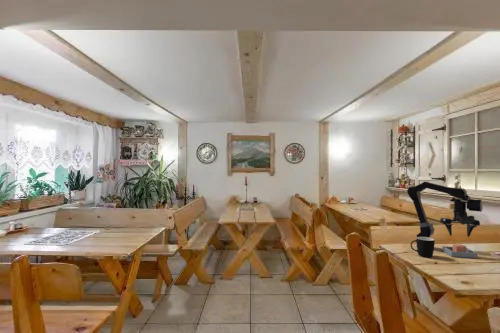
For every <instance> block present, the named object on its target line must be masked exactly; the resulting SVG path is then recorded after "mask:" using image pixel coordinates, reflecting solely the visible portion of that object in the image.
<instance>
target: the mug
mask: <svg viewBox="0 0 500 333" xmlns="http://www.w3.org/2000/svg"><path fill="white" fill-rule="evenodd" d="M414 242H416V243H415V244H416V245H417V246H416V249H415V248H414V247H413V243H414ZM435 244H436V240H435V239H434V238H432V237H430V238H428V237H417V236H416V239H415V240H414V239H413V241H411V242H410V248H411V250H412V251H414V252H415V253H416V252H417V254H418V256H419V257H421V258H426V259H427V258H429V259H430V258H432V257H433V256H434V255H433V254H434V252H435Z"/></svg>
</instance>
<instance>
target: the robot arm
mask: <svg viewBox="0 0 500 333" xmlns="http://www.w3.org/2000/svg"><path fill="white" fill-rule="evenodd" d="M426 189H429V190H433V191H437V192H441V193H445V194H447V195H449V196H451V197H452V198H451V199H450V200H449V202H453V210H452V213H453V217H452V219H451V218H450V217H449V218H448V217H441V218H440V221H439V222H440V223H442V225H444V227H446V230H447V232H448V234H449V236H450V237H452V235H453V234H452V233H453V232H452V227H453V224H460V225H466V236H467V237H468V238H469V237H470V236H471V233H472V232H473V230H474V228H478V226H481V222H480V220H478V219H475V216H474V215H468V212H467V210H468V211H470V212H480V213H482V212H483V203H482V199H474V198H472V199H471V197H470V196H469V194H468V193H467V192H468V191H467V190H466V189H465V188H462V187H449V186H446V185H441V184H436V183H432V182H430V181H423V182H422V183H419V184H418V185H414V186H411V187H409V188H407V189H406V191H407V194H408V195H407V196H408V197H409V198H410V200H411V201H412V202H413V206H414V208H415V211H416V214H417V218H418V221H419V231H420V232H419V233H418V234H416V238H417V237H428V238H431V236H434V233H435V228H434V225H433V223H430V222H429V221H428V217H427V214H426V212H425V209H424V206H423V202H422V200H421V197H422V194H421V193H422V192H423V191H424V190H426ZM416 247H417V244H416Z"/></svg>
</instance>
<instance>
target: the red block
mask: <svg viewBox="0 0 500 333" xmlns="http://www.w3.org/2000/svg"><path fill="white" fill-rule="evenodd" d="M452 247H453V252H466V248H467V246H465V245H464V244H459V243H452Z"/></svg>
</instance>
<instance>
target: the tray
mask: <svg viewBox="0 0 500 333" xmlns="http://www.w3.org/2000/svg"><path fill="white" fill-rule="evenodd" d="M442 252H443V253H445V254H446V255H448V256H450V258H459V259H461V258H463V259H474V260H475V259H477V260H478V253H477V252H475V251H474V250H472V249H470V248H468V247H466V252H453V246H442Z"/></svg>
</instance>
